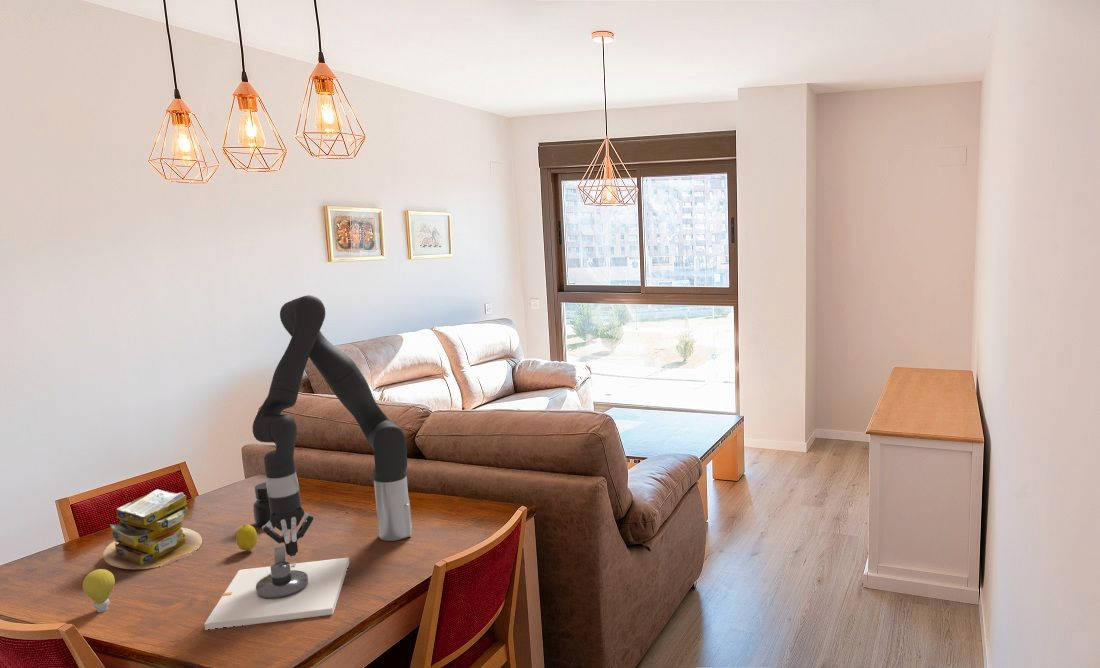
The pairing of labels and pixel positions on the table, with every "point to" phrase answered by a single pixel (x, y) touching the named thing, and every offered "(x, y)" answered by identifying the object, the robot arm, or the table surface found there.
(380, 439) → the robot arm
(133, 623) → the table surface
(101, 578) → the light bulb
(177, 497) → the stack of boxes
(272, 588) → the dial
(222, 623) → the dial plate
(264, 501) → the ink bottle
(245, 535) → the lemon
